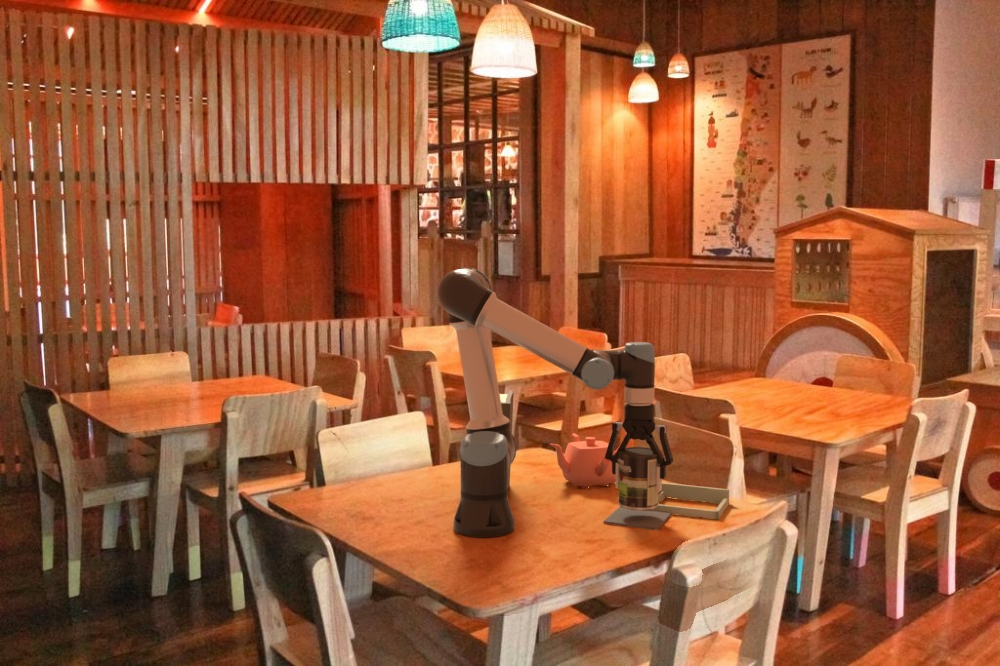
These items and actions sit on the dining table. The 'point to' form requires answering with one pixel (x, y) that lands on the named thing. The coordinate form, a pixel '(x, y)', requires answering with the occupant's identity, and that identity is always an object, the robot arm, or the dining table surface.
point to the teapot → (586, 462)
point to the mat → (637, 518)
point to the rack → (694, 494)
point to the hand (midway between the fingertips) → (638, 488)
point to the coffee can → (638, 478)
